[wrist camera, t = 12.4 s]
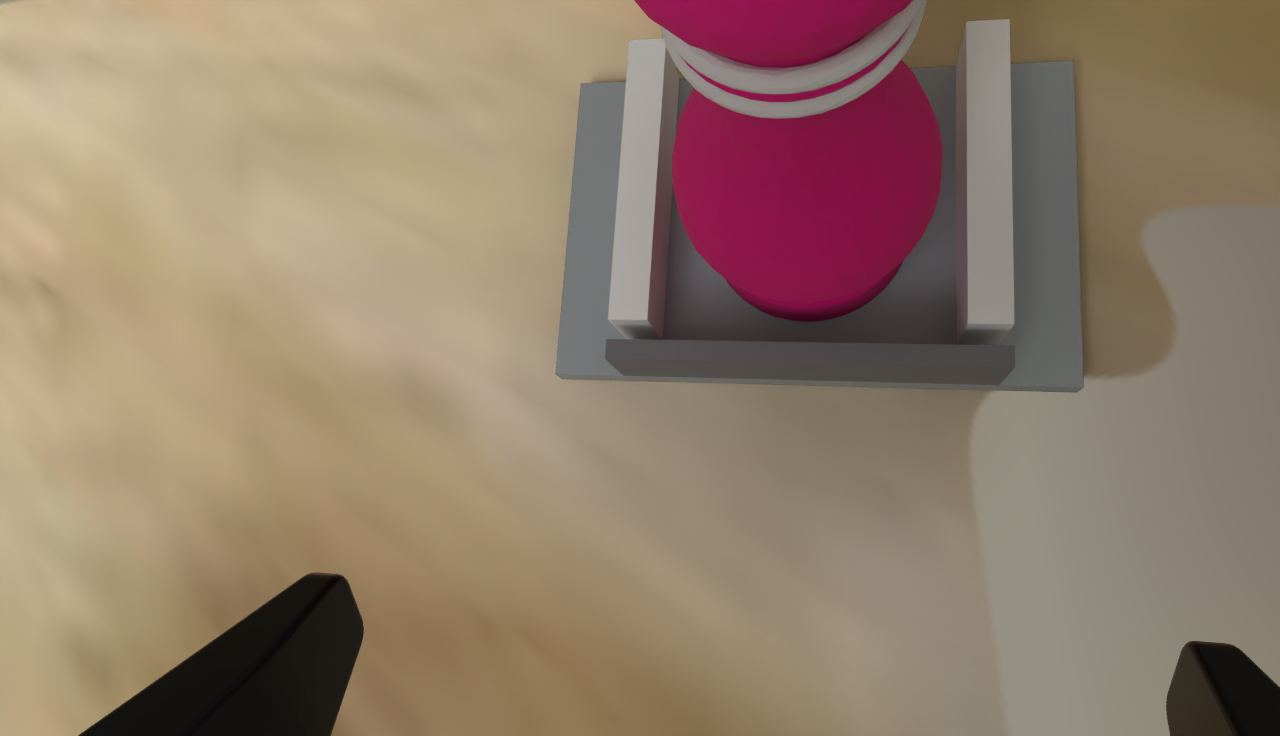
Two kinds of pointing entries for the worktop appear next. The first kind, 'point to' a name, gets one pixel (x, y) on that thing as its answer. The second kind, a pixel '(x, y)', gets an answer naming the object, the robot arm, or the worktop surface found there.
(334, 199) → the worktop surface
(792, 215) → the pepper mill
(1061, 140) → the rail dock
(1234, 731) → the robot arm
